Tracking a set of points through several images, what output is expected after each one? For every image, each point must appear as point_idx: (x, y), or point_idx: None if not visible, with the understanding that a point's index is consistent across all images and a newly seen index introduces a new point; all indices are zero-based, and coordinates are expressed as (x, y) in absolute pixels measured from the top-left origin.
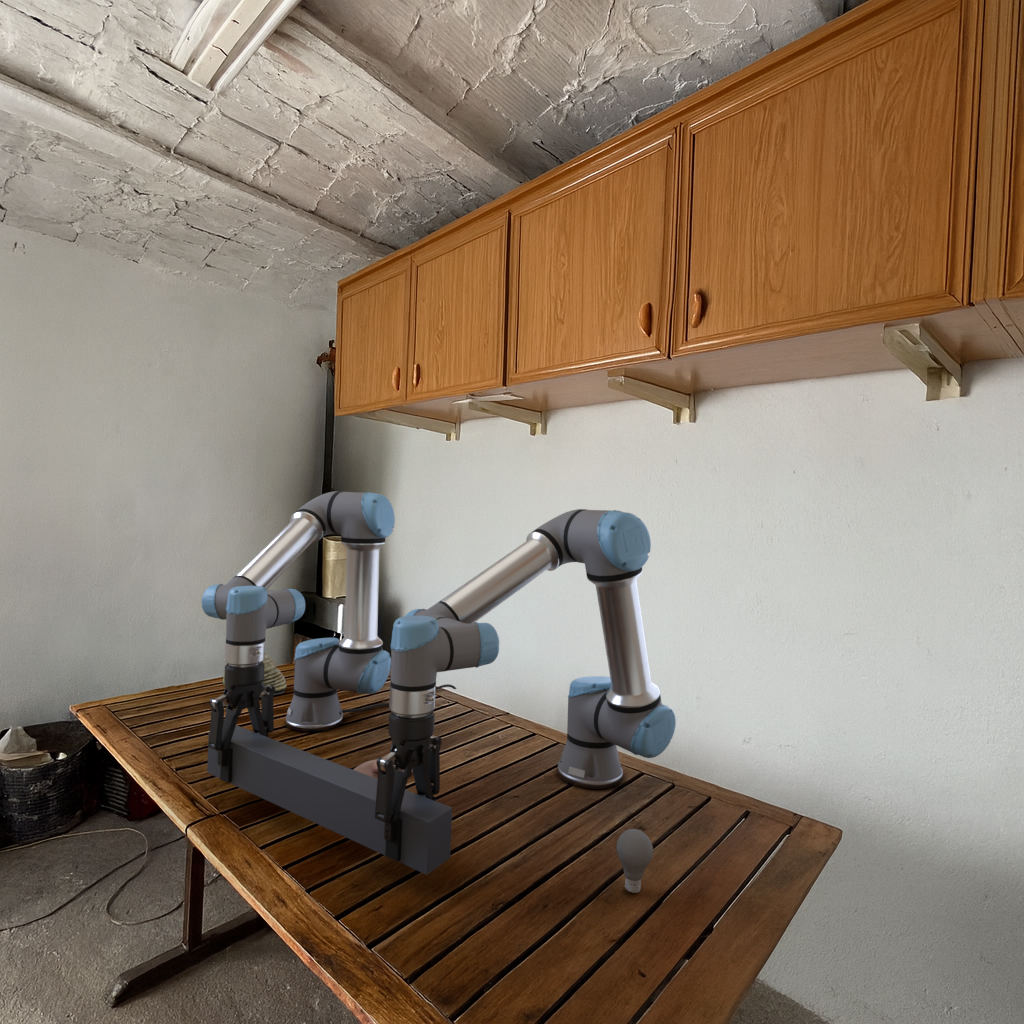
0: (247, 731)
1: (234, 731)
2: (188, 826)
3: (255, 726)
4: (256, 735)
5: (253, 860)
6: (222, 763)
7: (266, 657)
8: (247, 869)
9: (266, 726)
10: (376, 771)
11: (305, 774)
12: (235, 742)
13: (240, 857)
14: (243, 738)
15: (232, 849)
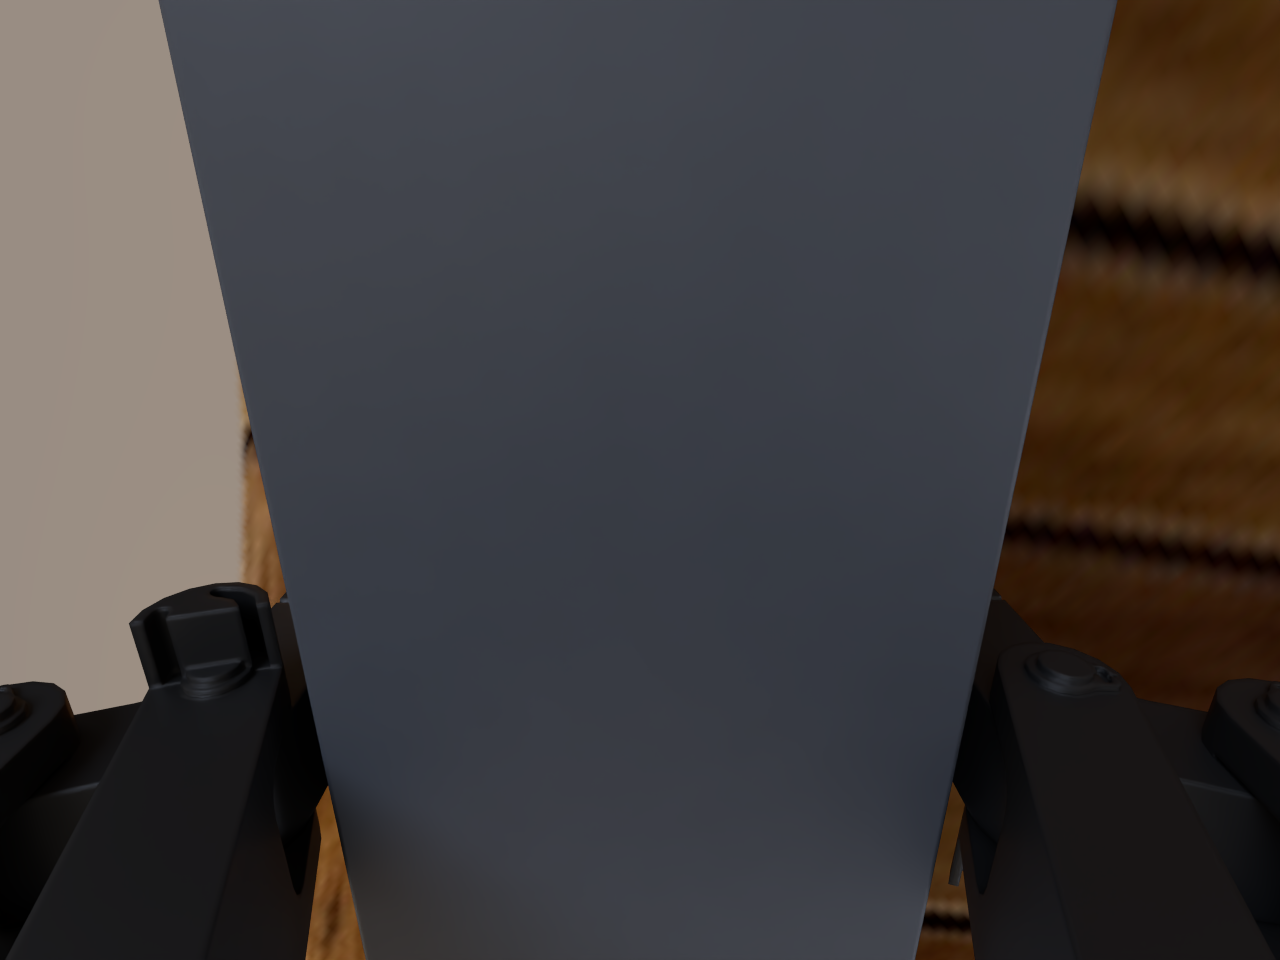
0: (894, 696)
1: (719, 486)
2: (243, 446)
3: (1014, 946)
4: (837, 946)
5: (357, 921)
6: None
7: None
8: (307, 948)
9: (1269, 862)
10: None
11: None
12: (384, 953)
13: (326, 873)
14: (590, 911)
15: (329, 805)
